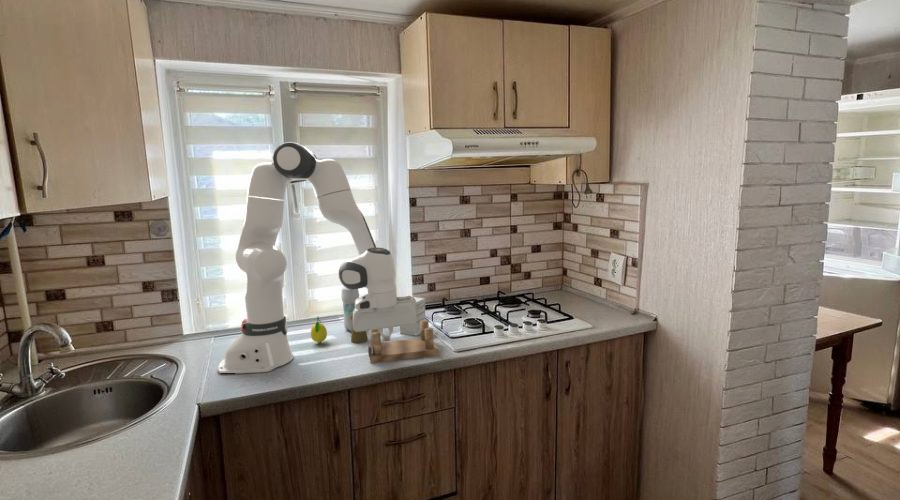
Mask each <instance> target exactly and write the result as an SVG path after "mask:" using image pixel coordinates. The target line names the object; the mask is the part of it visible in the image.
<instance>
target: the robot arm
mask: <svg viewBox="0 0 900 500" xmlns="http://www.w3.org/2000/svg"><path fill="white" fill-rule="evenodd" d="M307 181H308V182H309V183H310V184H311V186H312V188H313V191H314V195H315V198H316V202H317V205H318V208H319V211H320V212H321V214H322V216H323V217H324V218H325V219H326V220H327V221H330V222H331V223H333V224H337V225H340V226H342V227H344V228H345V229H346V230H347V231H348V232H349V233H350V235H351V237H352V240H353V242H354V245H355V247H356V250H357V252H358V256H356V257H354V258H350V259H349V260H346V261H344V262H342V263H341V265H340V267H339V269H338V278H339V281H340V283H341V285H342V286H343V287H344V286H345V287H346V288H348V289H358V290H359V289H363V288H366V289H367V293H365V295H363V296H359V298H357V299H356V300H355V309H354V311H353V330H354V331H355V332H361V331H366V332H369V331H370V330H376V329H378V331H379V333H380V335H381V337H382V339H381V340H382V342H390V341H392V340H391V335H392V333H393V332H394V328H399V327H400V326H406V325H413V324H415V323H416V322H417V318H416V312H415V307H416V300H415V298H414V297H415V296H411V295H407V296H397V286H396V284H395V278H396V277H395V276H396V271H395V264H394V258H393V254H392V252H391V251H390V250H388V249H386V248H384V247H377V245H376V243H375V241H374V238H373V235H372V233H371V231H370V228H369V225H368V222H367V221H366V218H365V217H364V214H363V212H362V211H361V210H360V209H359V207H358V205H357V203H356V200H355V198H354V196H353V192H352V189H351V186H350V183H349V180H348V178H347V174H346V173H345V171H344V169H343V167H342V165H341V163H340V162H339V161H337V160H335V159H331V158H325V159H321V160H320V159H318V158H317V156H316V155H315V153H314V152H312V150H311V149H310V148H308V147H306V146H305V145H303V144H301V143H298V142H295V141H294V142H293V141H288V142H284V143H281V144H280V145H278V146H277V147H276V148H275V150H274V152H273V155H272V162H260V163H258V164H256V165H254V167H253V169H252V172H251V174H250V178H249V181H248V187H247V193H246V204H245V212H244V214H245V215H244V221H243V226H242V231H241V234H240V238H239V243H238V246H237V250H236V252H235V261H236V264H237V265H238V268H239V269H240V270H242V272H244V273H245V274H246V277H247V278H246V279H247V280H246V281H247V283H246V285H247V286H246V294H245V297H244V301H245V309H246V317H247V318H244V319H243V320H242V321H241V325H240V326H241V327H240V331H241V332H242V333H240V334H239V336H237V337H236V338H235V339H234V340H232V341H231V342H230V343H229V345H228V346H227V347H226V350H225V353H224V354H225V355H224V358H223V359H222V360H221V361H220V362H219V364H218V366H217V372H218V371H219V372H220V373H235V374H247V373H248V374H250V373H268V372H271V371H273V370H274V369H276V368H278V367H281V366H283V365H286V364H288V363H290V362H291V361H292V360H293V359H294V354H293V351H292V350H291V347H290V343H289V339H288V321H287V318H286V315H285V311H284V309H285V307H284V299H283V288H284V275H285V271H286V268H287V265H288V264H287V258H286V257H285V254H284V253H283V252H282V251H281V250H280V248H278V247H277V246H276V242H277V238H278V235H279V232H280V230H281V228H282V226H283V223H284V222H283V221H284V211H285V210H284V209H285V203H286V201H285V200H286V191H287V187H288V185H289V184H296V183H302V182H307ZM411 298H413V299H411ZM384 329H388V333H387V334H384V333H383V332H384ZM219 372H218V373H219ZM220 373H219V374H220Z"/></svg>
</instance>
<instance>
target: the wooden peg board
mask: <svg viewBox="0 0 900 500" xmlns="http://www.w3.org/2000/svg"><path fill="white" fill-rule="evenodd" d="M429 325H430V324H429V320H428V319H426V320H421V321H420V326H421V333H420V338H409V339H401V340H391V341H385V342H383V341H381V351H382V353H381V354H378V355H374V354H373V349H372V333H374V332H379V331H378V329H376V330H369V331H370V343H367V353H368V357H369V363H370V364H374V363H382V362H391V361H398V360H399V361H401V360H406V359H414V358H415V359H416V358H423V357H430V356H431V357H432V356H433V357H434V356H438V355H439V347H438V346H437V344H436V342H435V339H434V328H433V327H430V326H429Z"/></svg>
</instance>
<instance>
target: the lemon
mask: <svg viewBox="0 0 900 500" xmlns="http://www.w3.org/2000/svg"><path fill="white" fill-rule="evenodd" d="M316 319H317V321H316V323H314V324H313V326H312V327H311V329H310V337H311V339H312V341H314V342H316V343H317V344H321V343H322V342H324V341H325V340H326V339H327V336H328V331H327V328H326V326H325V325H324V324H323V323H321V322H322V321H321V320H320V316H318V315H317V317H316Z"/></svg>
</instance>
